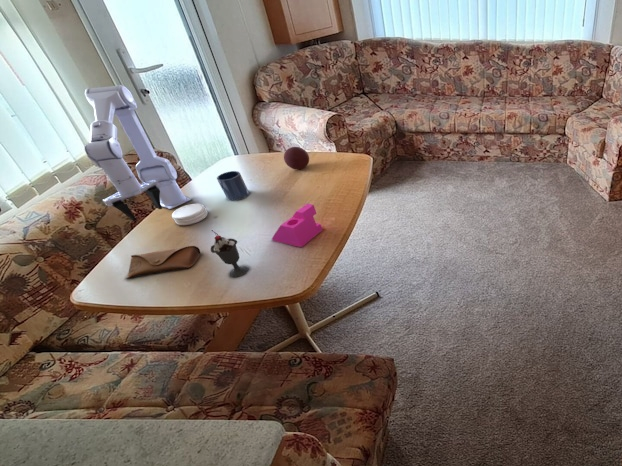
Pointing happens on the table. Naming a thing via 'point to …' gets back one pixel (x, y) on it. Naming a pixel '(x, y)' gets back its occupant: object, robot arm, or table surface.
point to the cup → (233, 185)
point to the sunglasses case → (163, 261)
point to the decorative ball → (296, 158)
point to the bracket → (299, 227)
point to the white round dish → (189, 214)
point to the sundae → (228, 254)
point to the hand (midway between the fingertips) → (147, 213)
